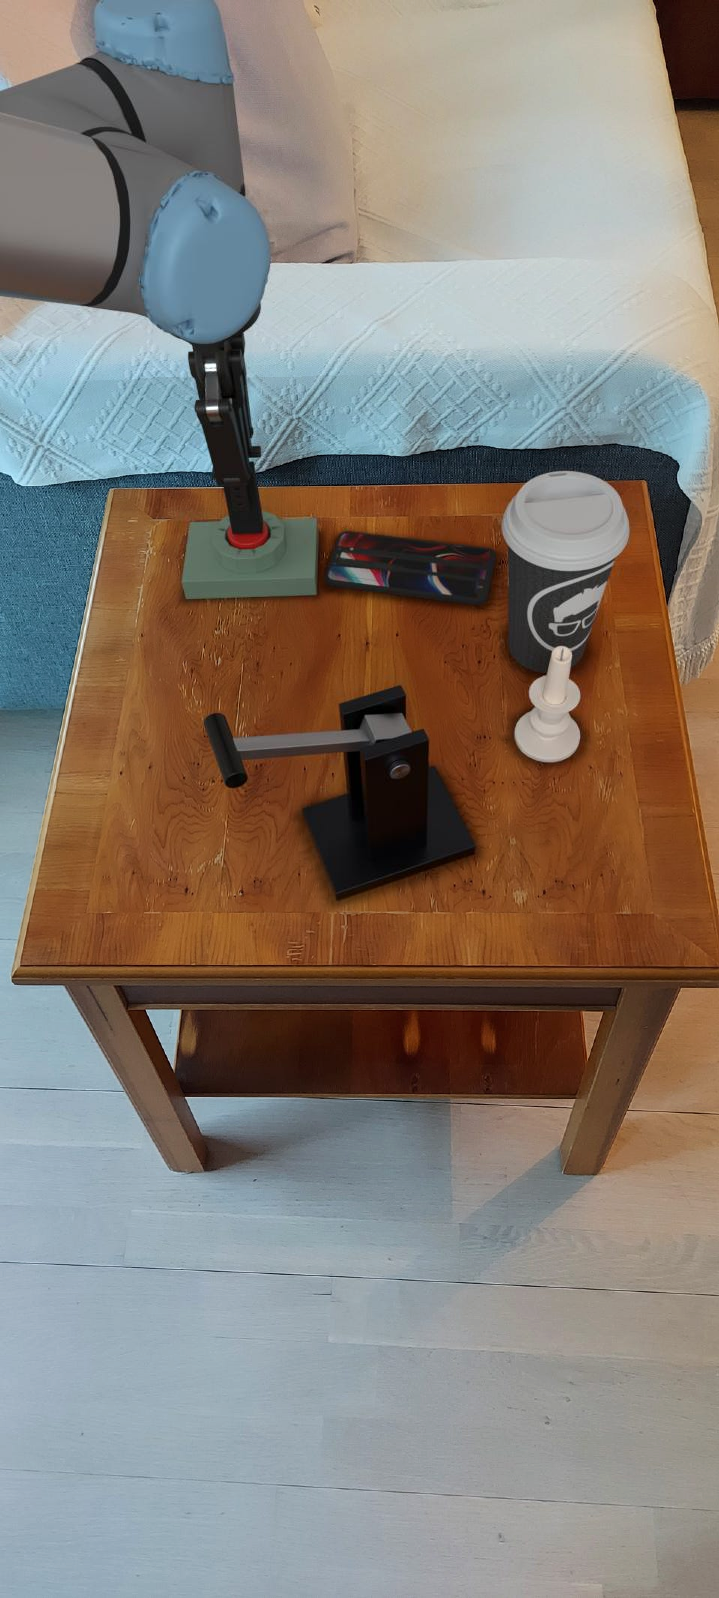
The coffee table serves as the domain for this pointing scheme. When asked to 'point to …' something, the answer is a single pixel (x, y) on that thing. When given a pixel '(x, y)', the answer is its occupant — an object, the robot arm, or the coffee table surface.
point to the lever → (294, 742)
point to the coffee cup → (559, 562)
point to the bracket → (385, 809)
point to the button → (248, 539)
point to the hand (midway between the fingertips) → (248, 527)
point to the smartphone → (411, 567)
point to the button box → (252, 561)
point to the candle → (551, 713)
